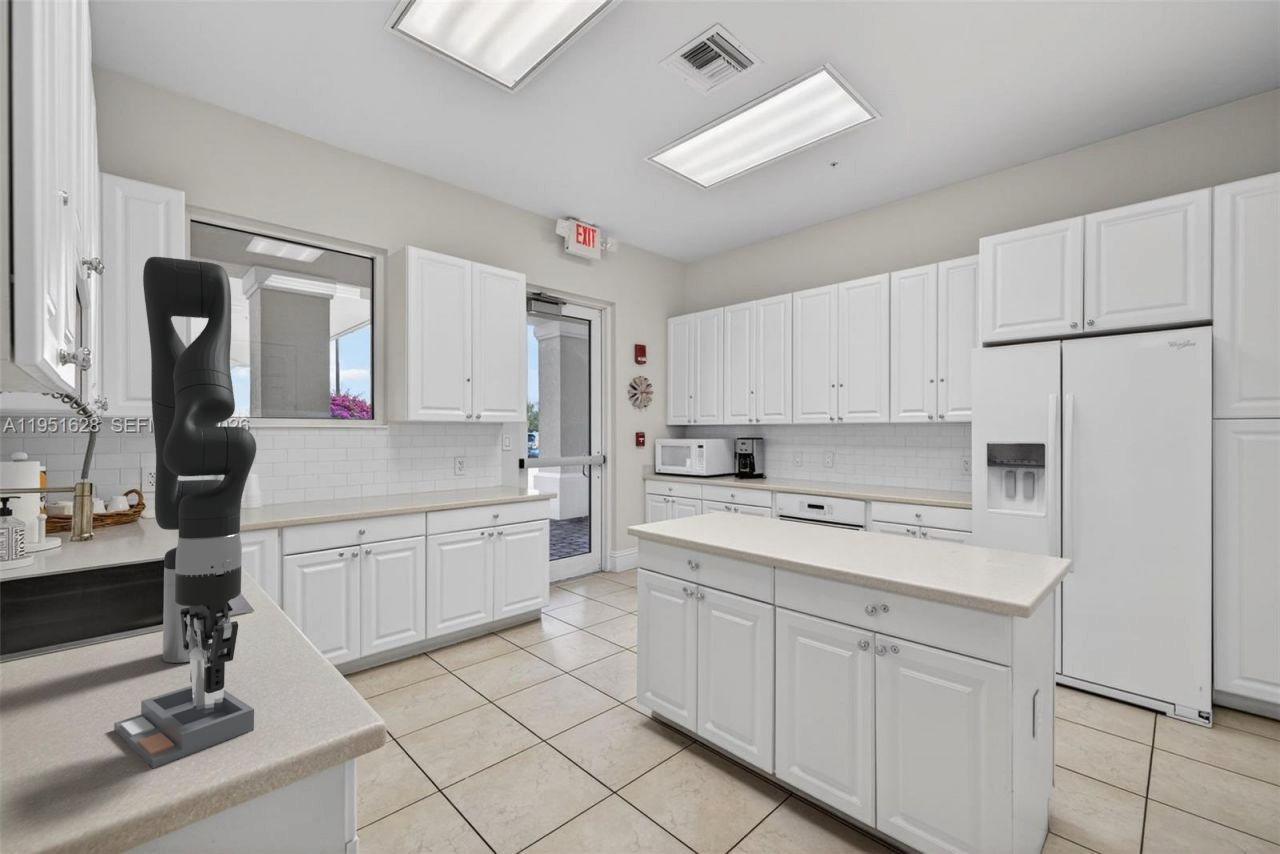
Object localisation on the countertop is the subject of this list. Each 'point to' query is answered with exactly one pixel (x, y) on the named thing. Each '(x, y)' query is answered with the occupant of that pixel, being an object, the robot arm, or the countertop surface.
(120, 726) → the dock
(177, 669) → the countertop surface
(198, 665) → the milkshake
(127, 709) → the countertop surface
